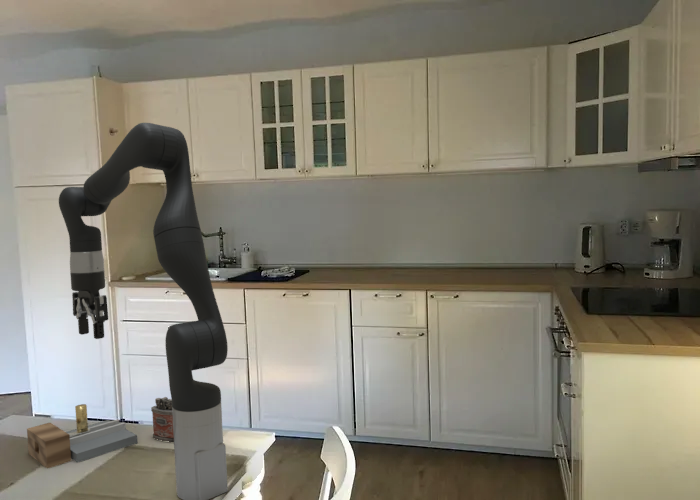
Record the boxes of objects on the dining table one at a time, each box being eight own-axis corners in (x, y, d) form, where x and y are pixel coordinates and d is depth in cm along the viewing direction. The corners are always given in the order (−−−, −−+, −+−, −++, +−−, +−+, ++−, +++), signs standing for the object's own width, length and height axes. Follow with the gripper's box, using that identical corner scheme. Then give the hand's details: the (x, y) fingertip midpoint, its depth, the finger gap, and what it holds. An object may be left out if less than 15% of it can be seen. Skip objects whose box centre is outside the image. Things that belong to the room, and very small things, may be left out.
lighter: (149, 438, 141) (147, 398, 140) (160, 433, 144) (157, 394, 143) (174, 443, 137) (171, 402, 136) (184, 438, 140) (182, 398, 139)
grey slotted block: (137, 443, 138) (136, 428, 138) (77, 462, 128) (76, 447, 128) (108, 427, 149) (107, 414, 149) (50, 444, 139) (49, 430, 139)
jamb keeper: (71, 460, 129) (69, 434, 129) (47, 468, 126) (45, 441, 125) (51, 447, 138) (50, 422, 137) (28, 453, 134) (26, 428, 134)
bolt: (91, 436, 137) (89, 405, 137) (51, 448, 131) (48, 415, 130) (87, 434, 139) (85, 403, 138) (47, 446, 132) (44, 413, 132)
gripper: (116, 270, 138) (119, 337, 139) (90, 267, 148) (94, 329, 149) (84, 273, 132) (88, 343, 134) (59, 269, 142) (63, 335, 143)
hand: (91, 336), depth 141 cm, fingers open, 8 cm apart
